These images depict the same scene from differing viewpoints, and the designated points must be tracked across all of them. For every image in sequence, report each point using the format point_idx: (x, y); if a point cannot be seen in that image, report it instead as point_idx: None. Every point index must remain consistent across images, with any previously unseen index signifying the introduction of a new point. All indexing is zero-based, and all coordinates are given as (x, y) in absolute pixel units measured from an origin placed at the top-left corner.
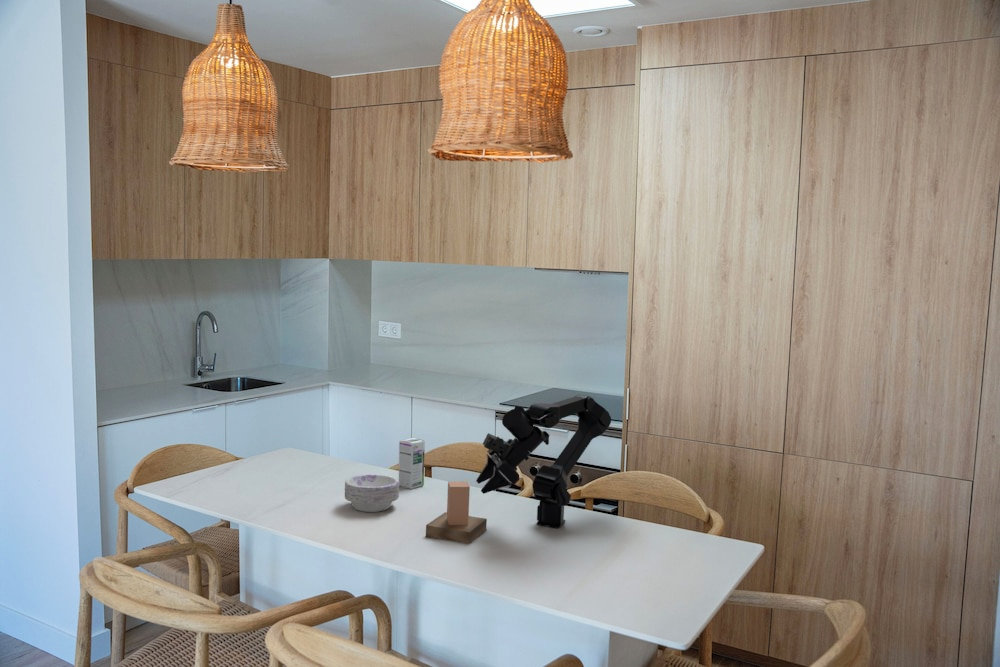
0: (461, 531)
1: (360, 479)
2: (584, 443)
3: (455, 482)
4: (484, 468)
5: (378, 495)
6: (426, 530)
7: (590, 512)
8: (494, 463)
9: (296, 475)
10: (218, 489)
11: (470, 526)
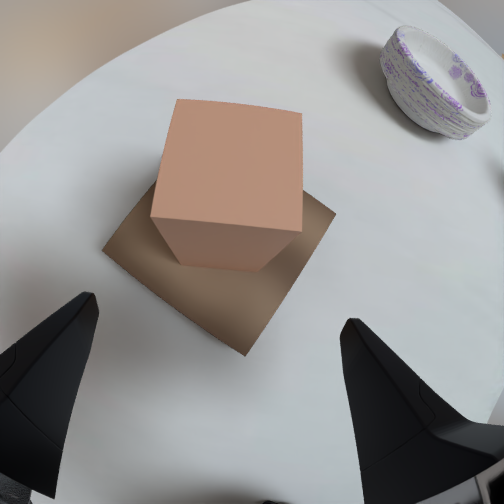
0: (121, 225)
1: (463, 72)
2: None
3: (278, 146)
4: (411, 395)
5: (394, 63)
6: None
7: None
8: (420, 494)
9: (499, 84)
10: (426, 7)
11: (160, 269)
